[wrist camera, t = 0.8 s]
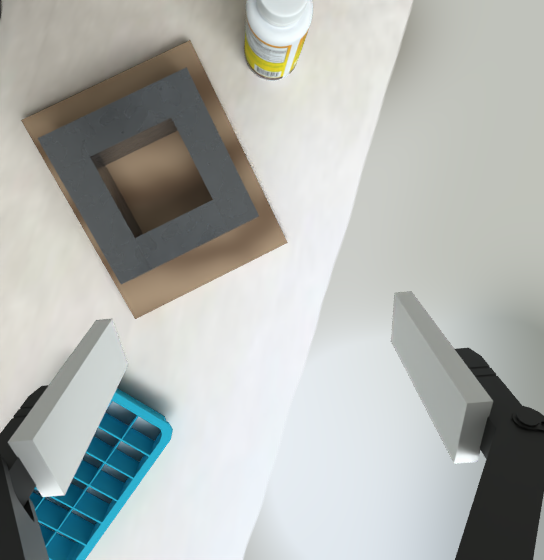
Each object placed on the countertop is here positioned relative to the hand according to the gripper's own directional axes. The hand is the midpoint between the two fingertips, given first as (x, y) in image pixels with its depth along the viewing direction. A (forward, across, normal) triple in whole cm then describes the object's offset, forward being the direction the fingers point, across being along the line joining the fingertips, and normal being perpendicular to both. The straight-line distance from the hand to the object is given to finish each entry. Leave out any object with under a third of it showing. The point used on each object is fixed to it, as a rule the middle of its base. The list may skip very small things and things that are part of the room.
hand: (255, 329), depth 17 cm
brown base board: (+24, -10, +2) cm, 26 cm away
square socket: (+24, -10, +2) cm, 26 cm away
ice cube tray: (+14, -22, -25) cm, 36 cm away
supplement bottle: (+30, +3, +13) cm, 33 cm away
